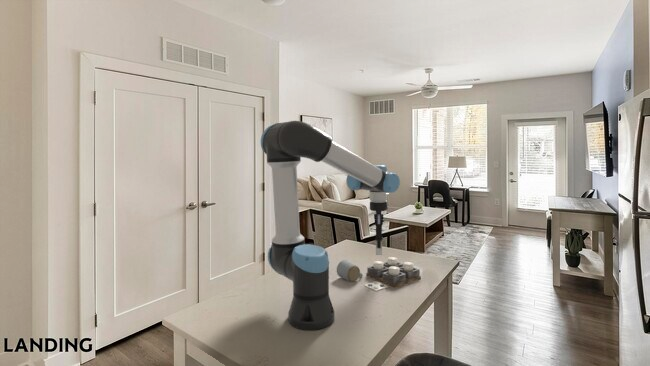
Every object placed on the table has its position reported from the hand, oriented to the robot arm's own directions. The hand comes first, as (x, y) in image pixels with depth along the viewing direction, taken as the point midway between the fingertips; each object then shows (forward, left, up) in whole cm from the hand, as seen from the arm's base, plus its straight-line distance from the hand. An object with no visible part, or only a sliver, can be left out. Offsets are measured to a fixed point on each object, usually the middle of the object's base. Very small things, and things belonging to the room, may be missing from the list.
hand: (378, 254), depth 146 cm
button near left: (0, 0, -7) cm, 7 cm away
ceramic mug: (-11, +6, -10) cm, 16 cm away
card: (-9, -7, -10) cm, 15 cm away
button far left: (+9, 0, -7) cm, 11 cm away
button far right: (+9, -9, -7) cm, 14 cm away
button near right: (0, -9, -7) cm, 11 cm away
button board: (+4, -4, -10) cm, 12 cm away
